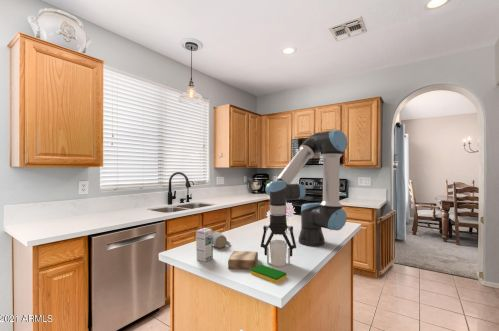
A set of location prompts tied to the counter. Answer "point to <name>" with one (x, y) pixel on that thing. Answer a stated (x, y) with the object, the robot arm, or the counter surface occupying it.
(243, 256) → the walnut plinth
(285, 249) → the white cup
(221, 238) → the ceramic mug
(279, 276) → the dish sponge
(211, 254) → the syrup box
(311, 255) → the counter surface
